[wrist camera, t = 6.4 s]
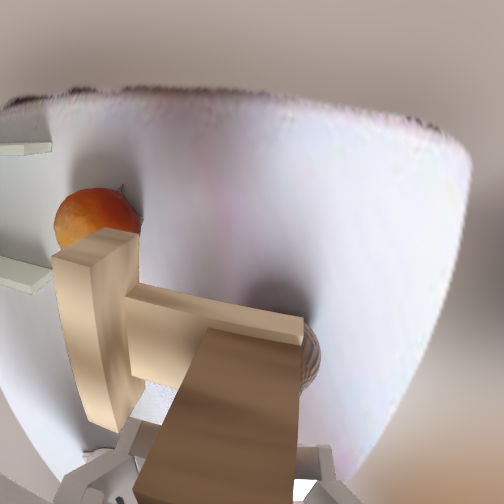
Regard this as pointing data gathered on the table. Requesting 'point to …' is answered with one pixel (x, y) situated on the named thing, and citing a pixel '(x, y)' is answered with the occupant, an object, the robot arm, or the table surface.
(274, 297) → the table surface
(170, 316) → the angled wooden block structure
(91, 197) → the fruit
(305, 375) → the vase
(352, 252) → the table surface
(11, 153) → the tray
